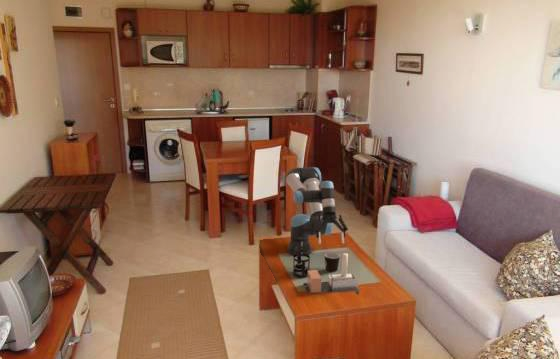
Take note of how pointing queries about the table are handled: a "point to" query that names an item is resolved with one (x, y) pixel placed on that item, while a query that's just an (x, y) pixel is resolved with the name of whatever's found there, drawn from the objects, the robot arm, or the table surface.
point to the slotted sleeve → (337, 286)
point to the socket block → (314, 281)
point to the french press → (301, 263)
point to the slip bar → (343, 273)
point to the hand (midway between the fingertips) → (331, 243)
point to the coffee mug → (331, 261)
